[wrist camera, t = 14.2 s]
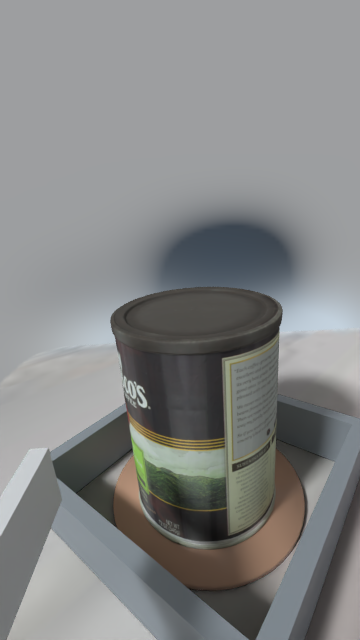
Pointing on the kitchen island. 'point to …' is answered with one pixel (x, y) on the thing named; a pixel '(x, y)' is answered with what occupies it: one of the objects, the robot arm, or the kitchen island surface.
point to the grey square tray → (162, 587)
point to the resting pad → (218, 564)
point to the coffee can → (202, 410)
